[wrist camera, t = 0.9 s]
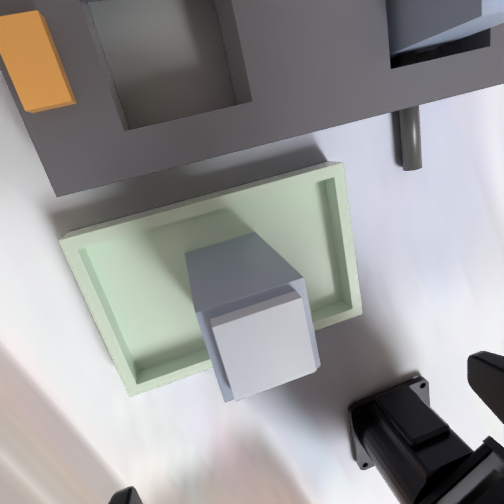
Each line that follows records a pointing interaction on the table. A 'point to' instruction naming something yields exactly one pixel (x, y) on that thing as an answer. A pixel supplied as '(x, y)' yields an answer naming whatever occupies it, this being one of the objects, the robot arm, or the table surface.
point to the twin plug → (431, 45)
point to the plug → (252, 315)
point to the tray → (198, 236)
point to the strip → (243, 78)
